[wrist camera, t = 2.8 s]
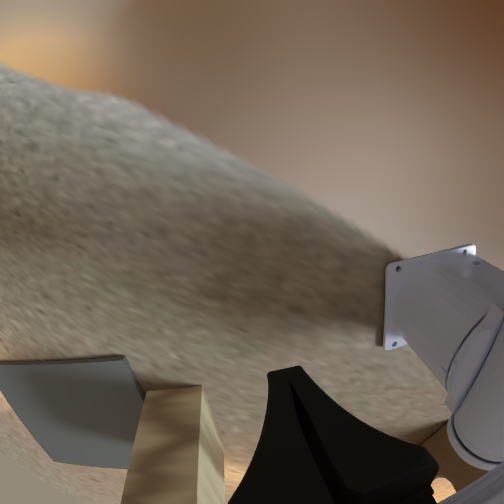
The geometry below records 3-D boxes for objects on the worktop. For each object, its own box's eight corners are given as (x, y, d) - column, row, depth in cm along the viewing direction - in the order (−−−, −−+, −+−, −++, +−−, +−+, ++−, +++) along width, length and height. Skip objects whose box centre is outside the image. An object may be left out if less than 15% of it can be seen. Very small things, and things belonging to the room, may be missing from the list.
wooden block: (410, 464, 33) (456, 555, 16) (398, 459, 32) (446, 559, 15) (459, 425, 32) (517, 511, 14) (450, 417, 30) (515, 512, 13)
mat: (124, 355, 23) (123, 360, 22) (182, 465, 28) (182, 469, 27) (-13, 361, 22) (-16, 364, 22) (55, 458, 28) (53, 461, 27)
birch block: (202, 385, 24) (196, 511, 13) (223, 440, 27) (227, 545, 16) (146, 390, 24) (119, 508, 13) (175, 444, 27) (166, 545, 15)
